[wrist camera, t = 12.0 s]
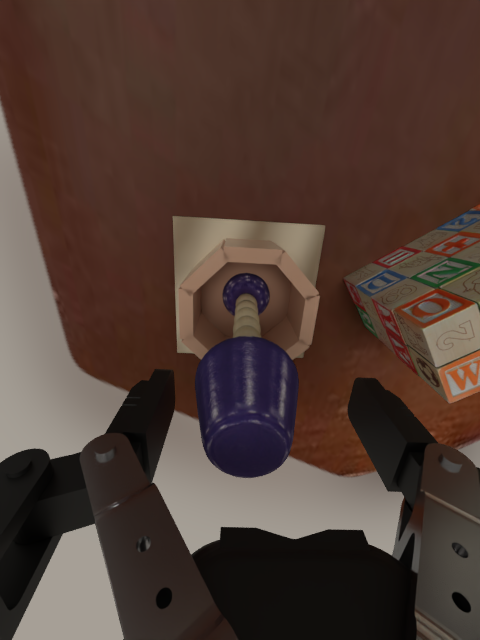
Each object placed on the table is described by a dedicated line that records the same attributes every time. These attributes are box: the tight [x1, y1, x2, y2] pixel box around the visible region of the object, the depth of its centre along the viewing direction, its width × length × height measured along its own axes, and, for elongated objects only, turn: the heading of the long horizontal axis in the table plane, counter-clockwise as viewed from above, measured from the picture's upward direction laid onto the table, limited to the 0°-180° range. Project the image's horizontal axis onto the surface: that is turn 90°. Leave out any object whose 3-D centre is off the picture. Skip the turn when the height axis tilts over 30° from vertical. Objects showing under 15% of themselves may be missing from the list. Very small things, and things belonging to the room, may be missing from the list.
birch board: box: [173, 216, 325, 358], centre depth 26 cm, size 13×13×1 cm
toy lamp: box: [195, 273, 299, 478], centre depth 16 cm, size 5×5×17 cm
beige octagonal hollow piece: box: [178, 238, 320, 360], centre depth 22 cm, size 10×10×6 cm
